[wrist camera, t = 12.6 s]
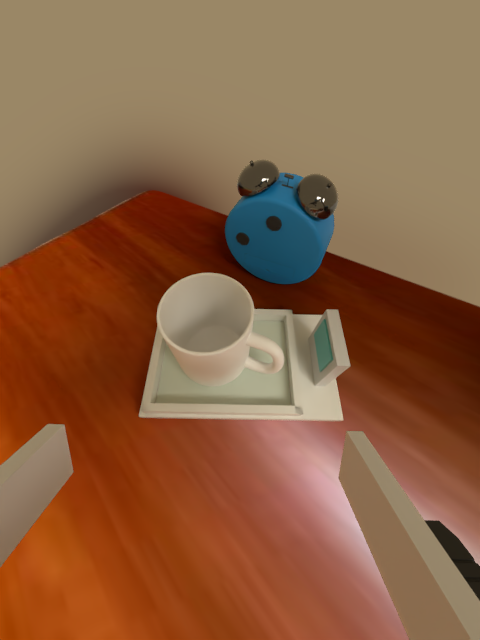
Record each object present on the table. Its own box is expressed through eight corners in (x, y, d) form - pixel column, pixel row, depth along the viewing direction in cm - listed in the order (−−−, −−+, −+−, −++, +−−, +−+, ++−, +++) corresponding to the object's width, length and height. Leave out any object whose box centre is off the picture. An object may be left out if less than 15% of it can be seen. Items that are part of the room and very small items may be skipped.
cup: (201, 315, 32) (188, 261, 23) (286, 350, 30) (308, 305, 21) (166, 370, 28) (135, 330, 19) (261, 415, 26) (275, 394, 17)
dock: (321, 318, 33) (344, 282, 26) (340, 421, 27) (376, 408, 20) (162, 315, 33) (143, 277, 26) (141, 417, 27) (108, 403, 20)
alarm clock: (317, 269, 38) (360, 171, 25) (305, 299, 35) (346, 205, 22) (241, 243, 40) (244, 141, 27) (224, 268, 38) (219, 168, 25)
